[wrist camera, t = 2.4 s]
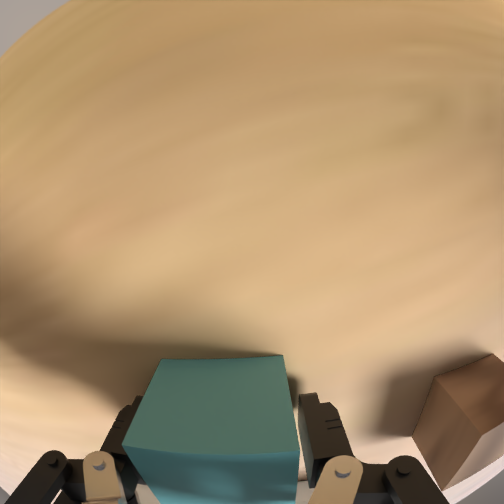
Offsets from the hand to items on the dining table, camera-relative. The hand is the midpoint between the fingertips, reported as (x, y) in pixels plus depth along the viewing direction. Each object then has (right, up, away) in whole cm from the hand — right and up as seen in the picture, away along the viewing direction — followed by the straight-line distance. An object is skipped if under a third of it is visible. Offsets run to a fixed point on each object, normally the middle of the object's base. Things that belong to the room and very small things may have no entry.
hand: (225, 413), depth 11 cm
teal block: (0, 0, +1) cm, 1 cm away
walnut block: (+13, -2, +1) cm, 13 cm away
